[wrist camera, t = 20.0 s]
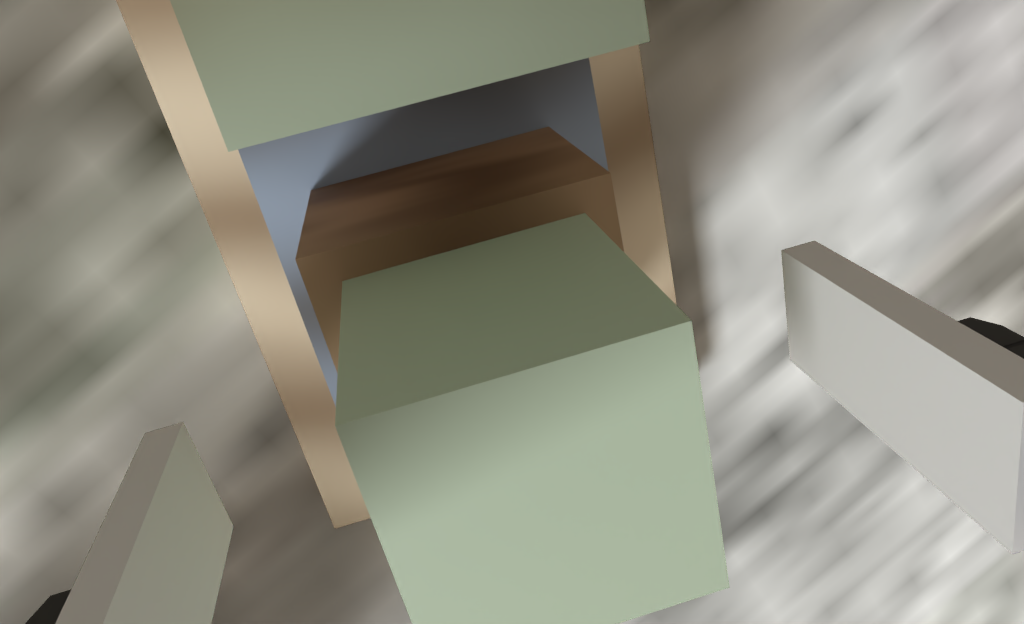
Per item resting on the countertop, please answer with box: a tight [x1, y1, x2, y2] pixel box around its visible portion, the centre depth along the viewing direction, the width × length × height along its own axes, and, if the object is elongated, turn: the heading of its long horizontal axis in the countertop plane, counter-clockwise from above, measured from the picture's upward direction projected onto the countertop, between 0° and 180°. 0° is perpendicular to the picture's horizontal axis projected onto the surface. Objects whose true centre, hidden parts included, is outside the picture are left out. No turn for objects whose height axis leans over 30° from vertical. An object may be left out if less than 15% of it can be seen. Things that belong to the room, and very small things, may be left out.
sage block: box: [335, 213, 729, 624], centre depth 15 cm, size 6×6×6 cm
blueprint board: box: [116, 0, 677, 529], centre depth 23 cm, size 22×13×2 cm, turn 13°
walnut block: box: [295, 127, 624, 374], centre depth 21 cm, size 7×7×6 cm
